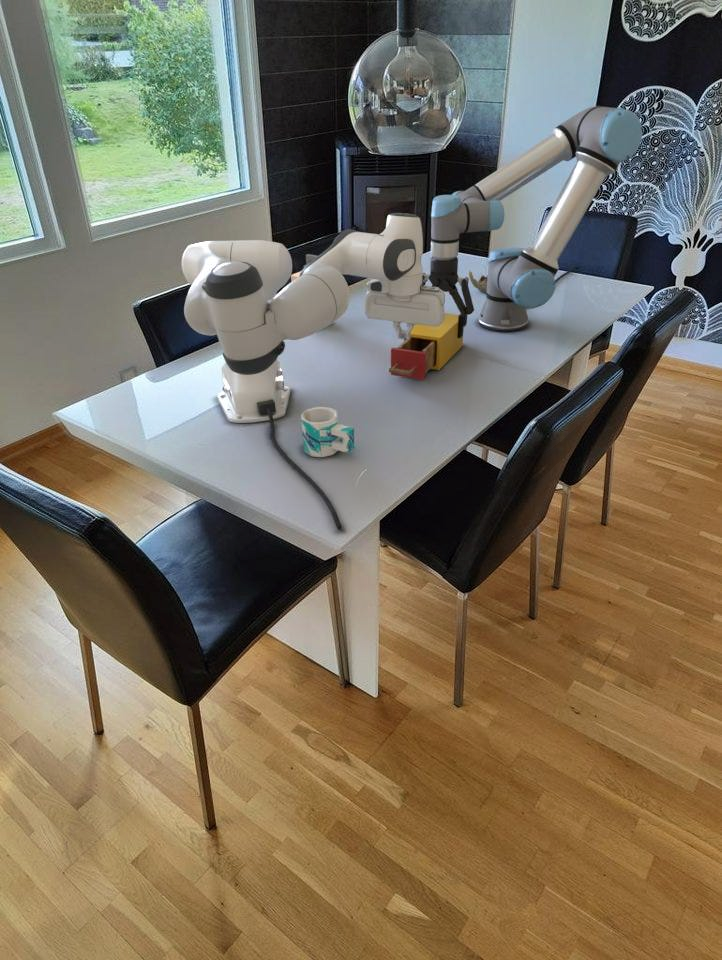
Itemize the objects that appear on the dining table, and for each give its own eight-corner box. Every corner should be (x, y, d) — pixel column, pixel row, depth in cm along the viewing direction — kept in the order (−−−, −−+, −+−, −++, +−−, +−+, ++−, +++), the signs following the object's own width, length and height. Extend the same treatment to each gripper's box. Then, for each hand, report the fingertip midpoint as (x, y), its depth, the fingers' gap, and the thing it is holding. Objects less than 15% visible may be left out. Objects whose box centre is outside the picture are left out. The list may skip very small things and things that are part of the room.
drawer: (416, 387, 171) (417, 361, 167) (382, 382, 174) (382, 355, 170) (448, 355, 190) (449, 330, 186) (417, 350, 193) (417, 326, 189)
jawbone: (458, 276, 240) (475, 251, 236) (488, 295, 247) (504, 271, 244) (468, 284, 232) (486, 259, 229) (499, 304, 240) (516, 280, 236)
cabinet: (439, 370, 183) (440, 337, 178) (403, 364, 187) (403, 332, 182) (462, 345, 199) (464, 315, 194) (429, 340, 203) (430, 311, 198)
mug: (318, 435, 155) (315, 403, 150) (361, 448, 149) (360, 415, 145) (296, 451, 149) (293, 418, 145) (340, 465, 143) (338, 431, 139)
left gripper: (449, 283, 159) (447, 339, 167) (371, 276, 167) (372, 329, 175) (440, 291, 155) (438, 348, 162) (360, 283, 162) (362, 337, 170)
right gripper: (489, 256, 182) (483, 334, 194) (410, 250, 190) (409, 325, 202) (481, 263, 176) (476, 343, 188) (400, 256, 185) (400, 333, 197)
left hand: (404, 338), depth 168 cm, fingers closed
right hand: (441, 334), depth 195 cm, fingers closed on cabinet, 11 cm apart
